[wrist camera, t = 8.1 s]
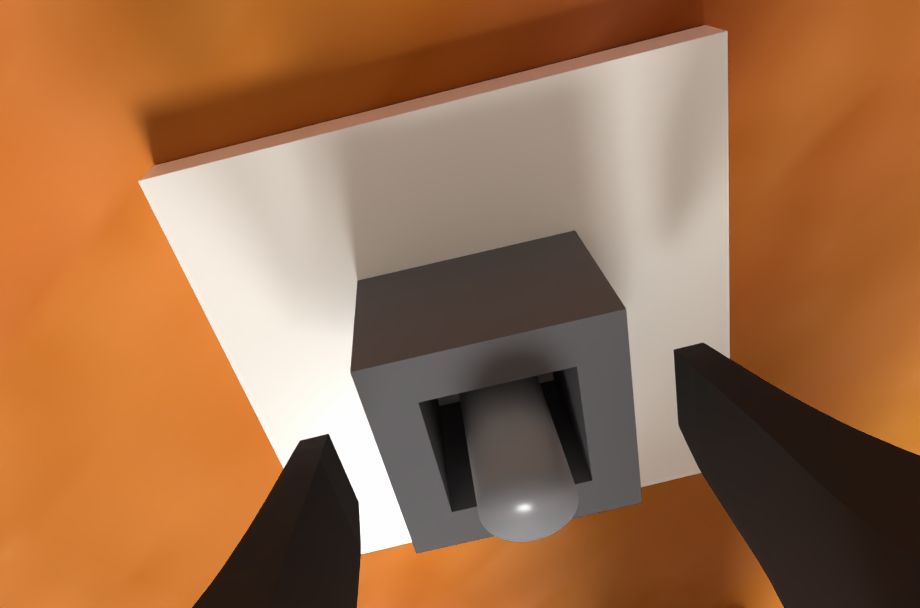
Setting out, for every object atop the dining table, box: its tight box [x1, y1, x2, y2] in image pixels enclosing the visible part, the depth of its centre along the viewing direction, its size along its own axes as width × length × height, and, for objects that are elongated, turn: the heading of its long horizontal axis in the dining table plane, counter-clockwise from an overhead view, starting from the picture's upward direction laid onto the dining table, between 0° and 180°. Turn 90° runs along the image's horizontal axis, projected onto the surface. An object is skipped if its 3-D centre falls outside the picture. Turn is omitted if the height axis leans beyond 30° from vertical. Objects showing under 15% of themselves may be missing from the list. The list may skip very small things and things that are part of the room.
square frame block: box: [350, 230, 642, 554], centre depth 14 cm, size 5×5×4 cm
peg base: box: [138, 25, 730, 554], centre depth 14 cm, size 12×12×6 cm
